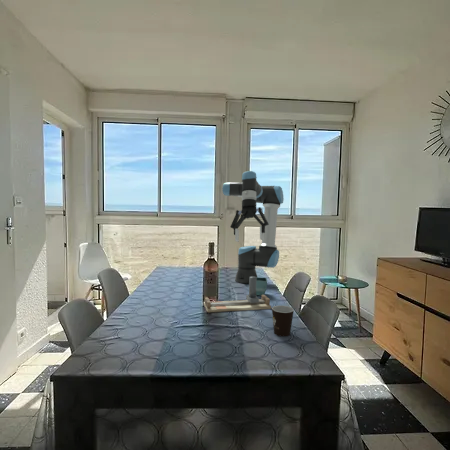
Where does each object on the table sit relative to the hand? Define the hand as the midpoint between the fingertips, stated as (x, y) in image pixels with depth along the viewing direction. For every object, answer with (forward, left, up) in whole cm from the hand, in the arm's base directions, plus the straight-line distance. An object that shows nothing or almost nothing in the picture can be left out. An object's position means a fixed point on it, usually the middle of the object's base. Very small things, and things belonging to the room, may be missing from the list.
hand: (249, 240), depth 163 cm
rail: (+2, -6, -33) cm, 34 cm away
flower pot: (-17, +12, -33) cm, 39 cm away
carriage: (+2, +2, -30) cm, 31 cm away
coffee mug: (+36, +4, -33) cm, 49 cm away
